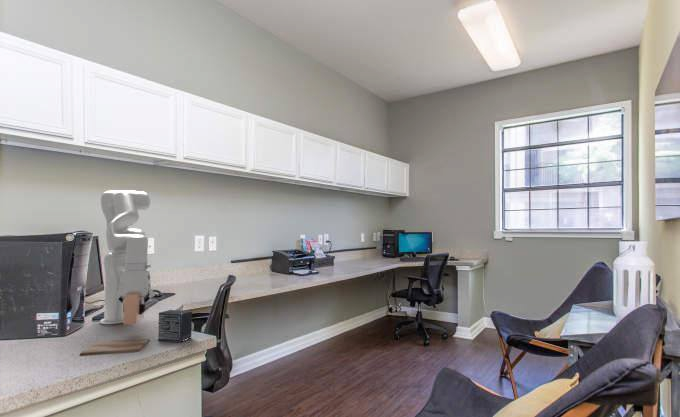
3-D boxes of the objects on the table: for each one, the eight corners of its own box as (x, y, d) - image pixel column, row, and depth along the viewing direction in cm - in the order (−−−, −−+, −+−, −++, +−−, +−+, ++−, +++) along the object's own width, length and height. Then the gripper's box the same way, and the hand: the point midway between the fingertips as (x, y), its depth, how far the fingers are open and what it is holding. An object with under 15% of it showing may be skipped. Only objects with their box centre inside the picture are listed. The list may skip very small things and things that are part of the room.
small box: (192, 338, 140) (193, 310, 141) (180, 343, 134) (181, 314, 135) (169, 335, 143) (170, 308, 144) (157, 340, 137) (157, 312, 138)
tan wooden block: (131, 317, 146) (132, 290, 146) (143, 317, 147) (144, 290, 147) (123, 324, 138) (124, 295, 138) (136, 324, 138) (137, 295, 139)
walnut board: (95, 344, 133) (95, 341, 133) (149, 340, 137) (149, 338, 137) (79, 355, 121) (80, 352, 121) (139, 351, 125) (139, 348, 125)
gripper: (161, 265, 148) (159, 310, 148) (115, 265, 145) (113, 311, 144) (156, 268, 141) (154, 315, 141) (108, 268, 137) (106, 317, 137)
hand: (134, 313), depth 142 cm, fingers closed on tan wooden block, 4 cm apart
